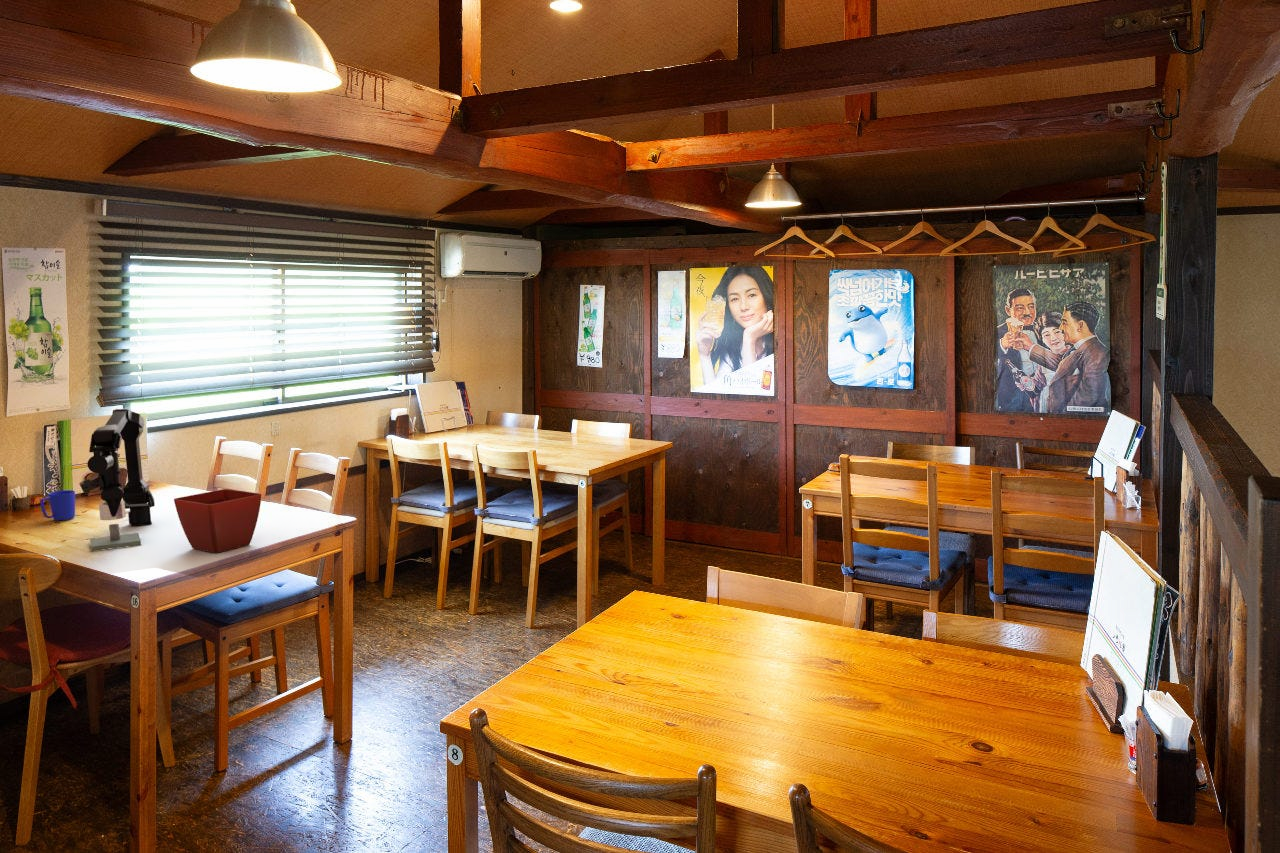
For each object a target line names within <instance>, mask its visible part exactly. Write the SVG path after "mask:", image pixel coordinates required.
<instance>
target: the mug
mask: <svg viewBox="0 0 1280 853" xmlns="http://www.w3.org/2000/svg"><path fill="white" fill-rule="evenodd" d="M46 500H47V501H48V500H49V505H50V510H51V514H52V515H50V516H48V514H47V511H46V509H45V504H44V502H45V501H46ZM39 503H40V504H39V505H40V508H41V512H42V515H43V517H44V518H46V519H52V518H53V520H54V521H57V520H63V521H68V519H69V520H72V519H74V518H75V517H76V491H75V490H71V489H70V490H69V489H68V490H57V491H52V492H49V493H48V497H44V498H43V497H42V498H40V499H39Z"/></svg>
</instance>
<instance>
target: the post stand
mask: <svg viewBox="0 0 1280 853" xmlns="http://www.w3.org/2000/svg"><path fill="white" fill-rule="evenodd" d="M108 529H109V536H102V537H101V536H99V537H94V538H90V539H89V542H90V543H89V544H90V551H91V552H95V551H94V550H99V551H103V550H102V549H106V550H109V549H108V548H114V549H118V548H117V547H122V548H127V547H126V546H130V547H135V545H137V546H142V541H141V538H140V535H139V534H140V533H139V532H135V533H128V534H127V533H126V534H120V533H121V532H120V524H119V523H111V524H109V525H108Z"/></svg>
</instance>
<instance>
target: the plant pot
mask: <svg viewBox="0 0 1280 853" xmlns="http://www.w3.org/2000/svg"><path fill="white" fill-rule="evenodd" d="M173 502H174V506H175V509H176V512H177V517H178V518H179V522H180V525H181V527H182V530H183V532H184V535H185V537H186V539H187V541H188V543H189V545H190V546H191V548H192V549H194V550H199V551H203V552H208V553H212V554H217V553H218V554H219V553H222V552H226V551H230V550H231V551H232V550H234V549H239V548H242V546H243V547H247V546H249V545H250V544H251V542H252V539H253V536H254V533H255V530H256V526H257V523H258V519H259V514H260V509H261V502H262V493H257V492H252V491H245V490H238V489H237V490H236V489H230V488H225V489H219V490H218V489H217V490H211V491H207V492H202V493H197V494H191V495H186V496H180V497H175V498H173ZM246 545H247V546H246Z"/></svg>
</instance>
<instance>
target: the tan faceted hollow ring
mask: <svg viewBox="0 0 1280 853" xmlns="http://www.w3.org/2000/svg"><path fill="white" fill-rule="evenodd" d="M98 508H99V509H98V510H99V518H100V519H99V520H100V521H113V520H115V521H116V520H120V519H124V518H126V517H127V516H126V509H125V502H124V501H123V499H122V500H121V503H120V505H119V508H118V511H117V514H116V516H115V517H112V516H111V513H110V510H109V507H108V504H107V502H106V501H102V502H100V503H99V502H98Z"/></svg>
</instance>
